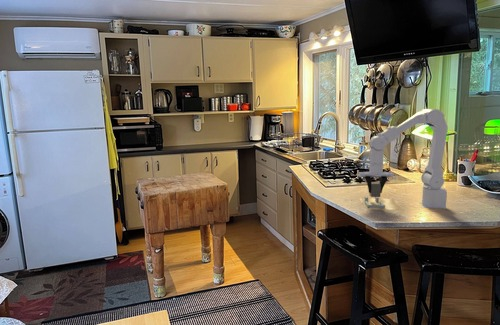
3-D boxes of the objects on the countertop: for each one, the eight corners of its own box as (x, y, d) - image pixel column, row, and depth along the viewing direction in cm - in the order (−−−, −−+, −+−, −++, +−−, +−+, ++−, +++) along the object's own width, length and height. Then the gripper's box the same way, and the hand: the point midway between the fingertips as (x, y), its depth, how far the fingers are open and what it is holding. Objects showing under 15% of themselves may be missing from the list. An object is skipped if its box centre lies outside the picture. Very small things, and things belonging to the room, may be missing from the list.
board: (393, 199, 179) (394, 198, 179) (404, 210, 162) (404, 209, 162) (358, 199, 181) (359, 198, 181) (365, 209, 164) (365, 209, 164)
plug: (374, 191, 178) (375, 179, 177) (380, 197, 166) (380, 183, 165) (366, 191, 178) (366, 179, 178) (371, 196, 166) (371, 183, 166)
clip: (377, 200, 176) (377, 196, 176) (378, 202, 174) (378, 197, 174) (364, 200, 177) (364, 196, 177) (365, 201, 175) (365, 197, 175)
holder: (381, 203, 171) (381, 201, 171) (385, 208, 165) (385, 205, 164) (364, 203, 172) (364, 201, 172) (367, 207, 166) (367, 205, 165)
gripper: (361, 164, 162) (360, 194, 165) (395, 164, 161) (393, 195, 163) (358, 161, 169) (357, 190, 172) (391, 162, 168) (389, 191, 170)
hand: (375, 192), depth 168 cm, fingers closed on plug, 4 cm apart
